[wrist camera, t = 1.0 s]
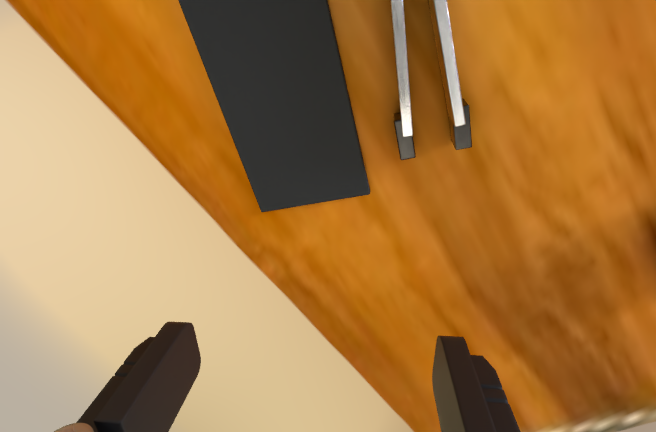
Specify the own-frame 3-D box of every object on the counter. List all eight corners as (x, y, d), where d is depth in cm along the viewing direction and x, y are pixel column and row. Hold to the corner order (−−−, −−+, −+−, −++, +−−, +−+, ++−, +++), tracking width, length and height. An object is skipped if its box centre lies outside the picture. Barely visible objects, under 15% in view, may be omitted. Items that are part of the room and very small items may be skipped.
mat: (156, -68, 23) (151, -69, 23) (299, -127, 21) (296, -130, 20) (263, 209, 33) (261, 212, 32) (370, 191, 30) (369, 194, 30)
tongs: (356, -105, 21) (351, -122, 18) (444, -138, 20) (453, -162, 17) (399, 150, 28) (400, 165, 26) (466, 137, 27) (475, 152, 24)
